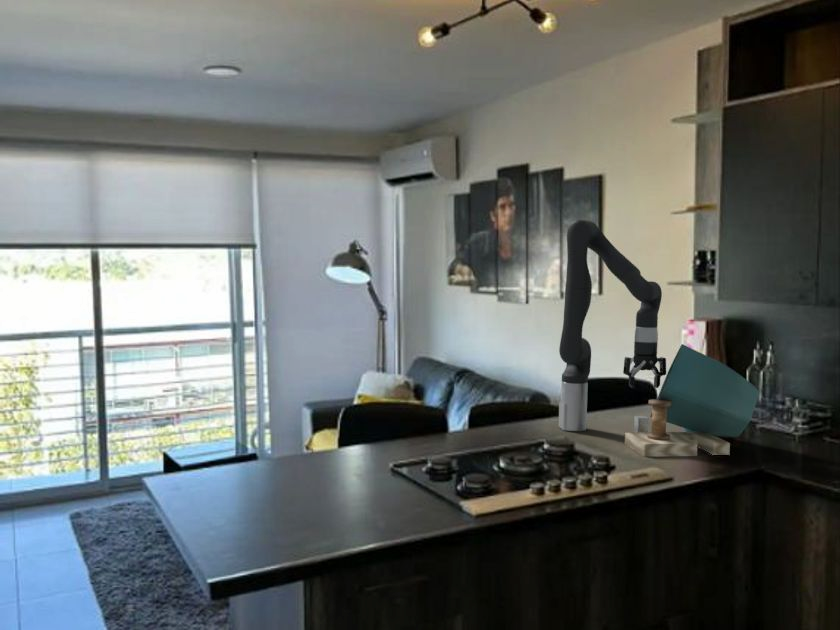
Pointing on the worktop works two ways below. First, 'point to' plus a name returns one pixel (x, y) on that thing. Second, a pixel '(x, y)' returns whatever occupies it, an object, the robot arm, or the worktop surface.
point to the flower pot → (707, 395)
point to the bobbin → (659, 419)
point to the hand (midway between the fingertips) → (644, 387)
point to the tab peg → (640, 424)
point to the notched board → (676, 444)
